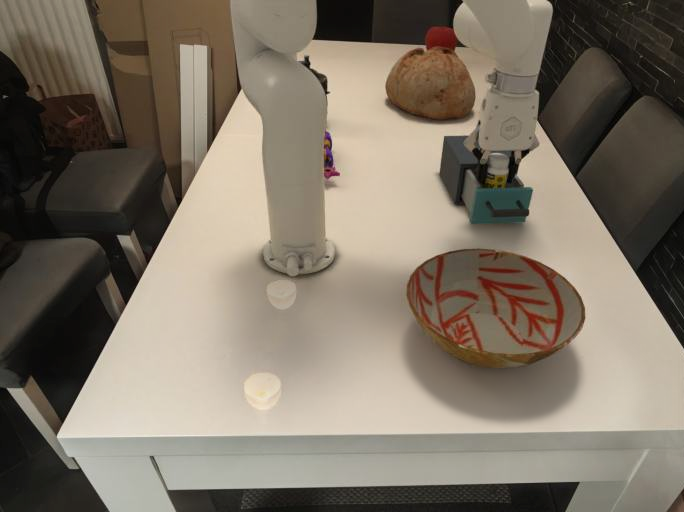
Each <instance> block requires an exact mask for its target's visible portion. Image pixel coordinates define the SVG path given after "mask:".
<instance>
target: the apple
mask: <svg viewBox="0 0 684 512" xmlns="http://www.w3.org/2000/svg"><path fill="white" fill-rule="evenodd" d="M424 41H425V49H426V51H428V50H429V49H431V48H433V47H436V46H440V47H443V48H448V49H451V50H453V51H455V52H456V49H457V44H458V42H459V40H458V38H457V37H456V35H455V32H454V28H451V27H446V26H433V27H430V29H428V30H427V32H426V34H425V37H424Z"/></svg>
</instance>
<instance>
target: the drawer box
mask: <svg viewBox="0 0 684 512" xmlns="http://www.w3.org/2000/svg"><path fill="white" fill-rule="evenodd" d="M468 136H469V135H444V136H443V142H442V150H441V158H440V165H439V176H440V178H441V180H442V182H443V184H444V187H445V188H446V190H447V192H448V194H449V196H450V198H451V200H452V203H454V205H466V204H465V203H464V201H463V199H462V197H461V195H460V193H461V186H462V180H463V174H464V168H477V162H478V159H477V158H476V157H475V156H474V154H473V153H472V152H470V151H469V150H468V149H467V148H466V147H465V145H464V144H463V142H464V141H465V140H466V138H467V137H468ZM474 145H475V146H476V147H477V148H478V149H479V148H480V146H479V142H478V141H476V142H475V143H474ZM492 153H501V154H504V155H507V156H508V157H510V156H511V153H510V151H491V153H490V154H492ZM487 161H488V159H487ZM520 163H521V162H520ZM520 163H519V164H518V165H517V170H516V175H517V176H518V172H519V168H520Z"/></svg>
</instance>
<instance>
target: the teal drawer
mask: <svg viewBox="0 0 684 512" xmlns="http://www.w3.org/2000/svg"><path fill="white" fill-rule="evenodd" d="M480 187H481V183H480V182H479V180H478V179H477V178H476V168H464V174H463V180H462V186H461V193H460V195H461V197H462V199H463V201H464V203H465V204H464V205H465V207H466V208H467V210H468V212H469V214H470V216H469V223H470V225H487V224H508V223H509V224H510V223H511V224H513V223H516V224H517V223H525V222H526V220H527V217H529V216H530V209H529V208H530V204H531V200H532V197H533V192H534V189H533V188H532V187H531V186H525V184H524V183H523V181H522V180H521V179H520V177H519V175H518V174H517V175H516V174H515V177H513V180H512V183H511V184H509V183H507V181H506V186H505V188H482V189H480Z"/></svg>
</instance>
